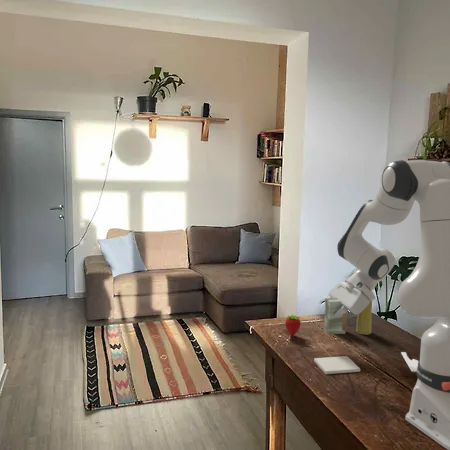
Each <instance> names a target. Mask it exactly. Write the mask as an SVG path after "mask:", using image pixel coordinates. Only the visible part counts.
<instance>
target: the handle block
mask: <svg viewBox="0 0 450 450" xmlns="http://www.w3.org/2000/svg"><path fill="white" fill-rule="evenodd" d="M324 301H325V303H324V306H325V307H324V332H326V333H327V335H339V334H340V335H343V334H342V317H343V314H342V315H340V316H339V317H338V318H337V317H336V316H335V315H334V314H333V313H334V312H335V311H336V310H337V311H338V310H339V309H340V308H341V306H342V304H341V300H339V299H338V298H331V297H330V298H325V299H324Z"/></svg>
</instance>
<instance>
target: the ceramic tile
mask: <svg viewBox="0 0 450 450" xmlns="http://www.w3.org/2000/svg"><path fill="white" fill-rule="evenodd" d="M313 359H314V360H313V362H314V363H315V364H316V365H317V366H318V368H319V369H320V370H321V371H322V372H323V373H324V374H325V375H333V374H334V375H335V374H347V373H357V372H361V368H360V367H359V366H358V365H357V364H356V363H355V362H354V361H353V360H352V359H351V358H350V357H348V356H346V355H343V356H341V355H340V356H328V357H315V358H313Z"/></svg>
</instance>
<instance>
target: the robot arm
mask: <svg viewBox="0 0 450 450" xmlns="http://www.w3.org/2000/svg"><path fill="white" fill-rule="evenodd" d="M415 201H416V202H417V203H418V204H419V209H420V211H419V213H420V214H419V216H420V220H419V223H420V251H419V252H420V253H419V256H418V260H417V262H416V266H415V267H414V269H413V270H412V272H411V273H410V274H409V275H408V277H406V278H405V279H404V280H403V281H402V282H401V284H400V285H399V286H398V287H399V288H398V291H397V300H398V304H399V306H400V308H401V309H402V311H403V313H405V314H406V315H408V316H409V317H415V318H420V319H428V320H429V319H437V320H436V321H435V323H434V324H433V325H432V326H430V327H429V328H428V329H427V330H425V331H424V332H423V334H422V335H421V339H420V349H419V352H420V354H419V360H418V361H419V362H418V367H417V372H416V376H417V380H416V383H415V385H414V387H413V389H412V394H411V398H410V399H411V400H410V405H409V411H408V412H407V413H406V414H405V418H404V419H405V420H406V421H407V422H408V423H410V424H411V425H412V426H413V427H415V428H417V429H418V430H419V431H420V432H422V433H424V434H425V435H426V436H428V437H429V438H430V439H431V440H432V441H433V440H434V441H435V442H436V443H437V444H439V445H440V446H442V447H443V448H445V449H446V450H450V162H449V161H436V160H434V161H433V160H426V159H411V160H403V159H402V160H401V159H400V160H396V161H395V160H394V161H392V162H389V163H388V164H387V165H386V166H385V168H384V169H383V172H382V175H381V184H380V187H379V188H378V191H377V194H376V196H375V197H374V198H373V199H369V200H367V201H365V202H364V203H363V205H362V206H360V208H359V210H358V211H357V212H356V215H355V216H354V217H353V220H352V221H351V223H350V225H349V227H348V228H347V229H346V232H345V233H344V234H343V235H342V237H341V238H340V239H339V240H338V243H337V246H336V249H337V253H338V256H339V257H341V258H342V259H344V260H345V261H346V262H348V263H350V264H351V265H352V266H353V267H355V268H356V270H355V271H354V272H353V273H352V274H351V275H350V276H349V277H348V278H347V279H346V280H343V281H340V282H338V283H337V284H335V286H333V288H331V290H329V291H328V293H327V294H328V296H329V297H330V298H338V299H339V300H341V304H342V306H341V308H340V309H339V310H338V311H337V310H336V311H335V312H334V313H333V314H334V315H335V316H336V317H337V318H338V317H339V316H340V315H342V314H344V313H346V312H347V313H348V311H349V312H350V313H351V314H352V315H355V316H356V315H358V314H359V313H361V312H362V311H363V310H364V309H365V308H366V307H367V306H368V304H369V303H370V301H372V302H373V301H374V300H375V299H376V295H375V293H374V292H373V290H374V289H375V288H376V286H377V284H379V283H380V282H382V281H383V280H384V279H385V278H386V276H387V275H389V273H390V272H391V271H392V269H394V266H395V264H396V263H397V262H396V261H397V260H396V257H395V256H394V255H393V253H392V252H391V251H390V250H388V249H386V248H384V247H380V248H379V249H378V247H375V246H374V245H373V244H371V242H368V241H367V240H366V239H365V238H364V236H363V235H362V234H363V232H364V231H365V229H366V228H367V226H368V224H369V223H370V222H371V223H376V224H379V225H383V226H392V225H393V226H395V225H397V224H401V223H402V222H403V221H405V220H406V219H407V218H408V216H409V214H410V212H411V210H412V208H413V205H414V204H415V203H414V202H415Z"/></svg>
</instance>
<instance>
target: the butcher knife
mask: <svg viewBox="0 0 450 450" xmlns="http://www.w3.org/2000/svg"><path fill="white" fill-rule="evenodd" d="M400 355H401V356H402V358H403V359H404V361H405V362H406V364H407V366H408V368H409V369H410V371H411V373H417V367H418V362H419V361H420V360H417V359H416V358H412V359H410V358H409V356H408V354H407V352H405V351H401V352H400Z"/></svg>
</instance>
